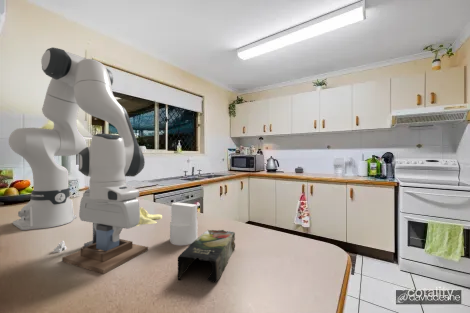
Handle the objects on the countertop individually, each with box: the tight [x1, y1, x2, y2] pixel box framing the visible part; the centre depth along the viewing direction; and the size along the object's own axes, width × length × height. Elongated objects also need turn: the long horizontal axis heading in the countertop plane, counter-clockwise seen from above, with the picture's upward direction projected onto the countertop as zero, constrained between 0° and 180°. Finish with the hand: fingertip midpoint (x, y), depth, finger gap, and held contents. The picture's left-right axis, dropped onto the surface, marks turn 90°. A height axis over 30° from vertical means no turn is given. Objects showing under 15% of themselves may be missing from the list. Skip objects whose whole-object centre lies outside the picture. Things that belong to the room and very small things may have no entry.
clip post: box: [83, 223, 96, 247], centre depth 68 cm, size 5×5×13 cm
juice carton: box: [177, 229, 236, 284], centre depth 58 cm, size 20×10×6 cm, turn 168°
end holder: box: [61, 238, 149, 275], centre depth 61 cm, size 16×14×3 cm
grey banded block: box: [96, 224, 119, 251], centre depth 61 cm, size 4×4×6 cm
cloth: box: [136, 206, 163, 227], centre depth 94 cm, size 22×19×6 cm
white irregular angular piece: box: [52, 240, 68, 253], centre depth 64 cm, size 3×3×3 cm
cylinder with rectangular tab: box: [169, 201, 199, 246], centre depth 72 cm, size 9×9×12 cm
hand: (108, 239), depth 61 cm, fingers closed on grey banded block, 4 cm apart
